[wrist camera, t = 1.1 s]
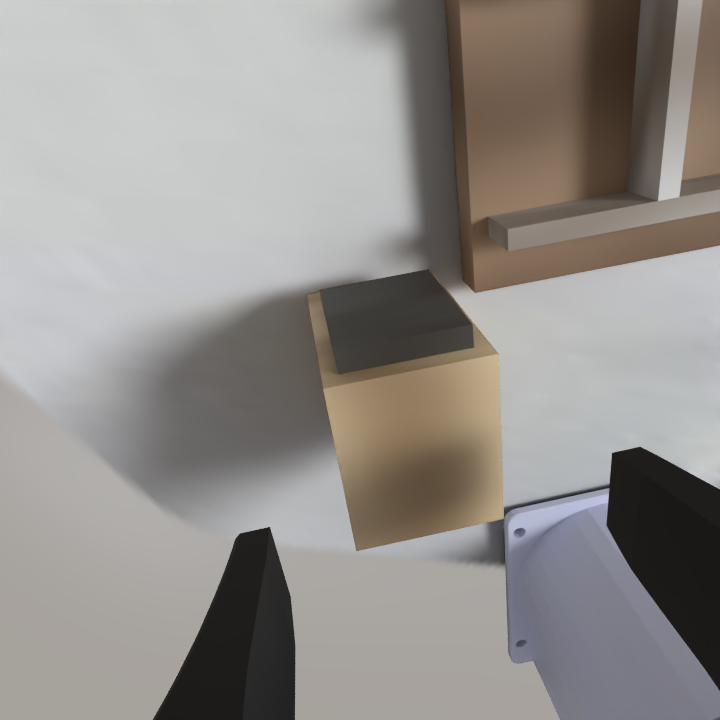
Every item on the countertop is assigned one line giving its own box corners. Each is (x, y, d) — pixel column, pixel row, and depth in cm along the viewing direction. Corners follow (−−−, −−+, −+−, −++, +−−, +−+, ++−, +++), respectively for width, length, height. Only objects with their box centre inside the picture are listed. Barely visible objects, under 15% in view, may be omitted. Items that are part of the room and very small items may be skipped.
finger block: (428, 252, 18) (497, 329, 12) (442, 402, 20) (503, 518, 15) (302, 275, 18) (318, 365, 12) (332, 424, 20) (356, 551, 15)
